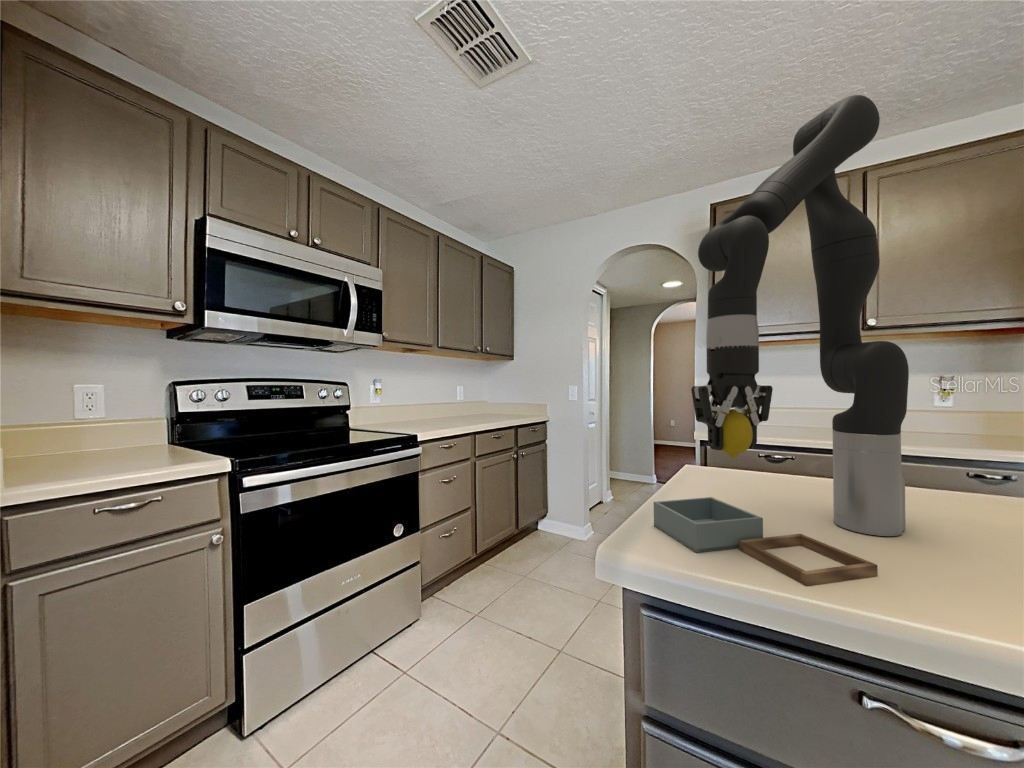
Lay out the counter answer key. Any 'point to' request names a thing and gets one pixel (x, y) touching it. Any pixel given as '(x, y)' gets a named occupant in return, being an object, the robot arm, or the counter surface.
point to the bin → (706, 523)
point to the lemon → (736, 433)
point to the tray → (820, 576)
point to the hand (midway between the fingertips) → (732, 448)
